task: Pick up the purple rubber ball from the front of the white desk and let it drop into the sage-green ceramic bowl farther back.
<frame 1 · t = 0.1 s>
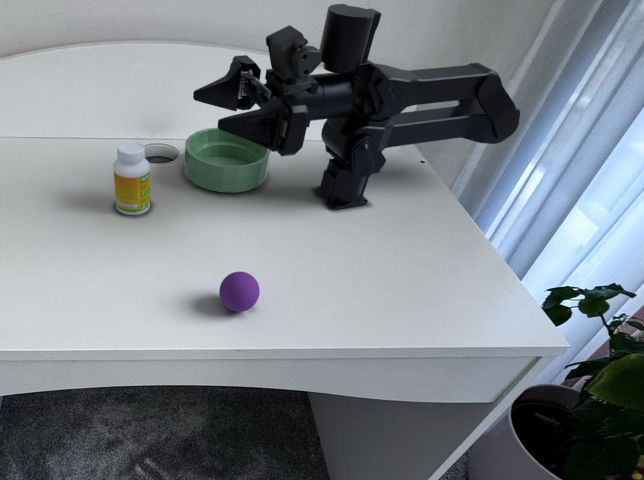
hand: (205, 109, 65), 17 cm above the table, tool horizontal, fingers open, 9 cm apart
bowl: (224, 174, 87), on the table
supplement bottle: (133, 207, 79), on the table
ball: (239, 291, 63), point 2 cm above the table
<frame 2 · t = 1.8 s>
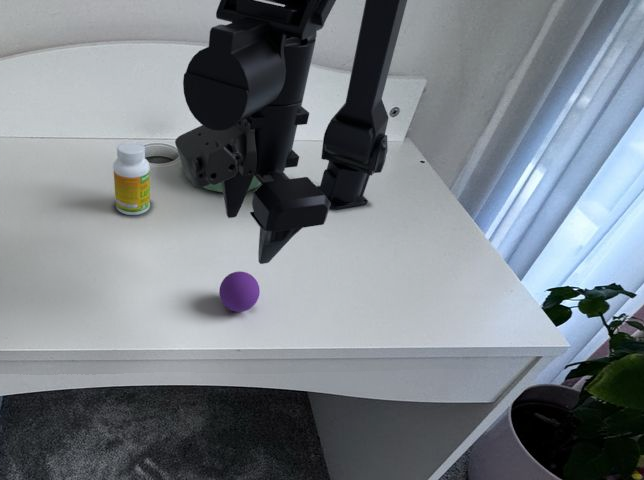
hand: (246, 238, 57), 10 cm above the table, tool pointing down, fingers open, 9 cm apart
nothing on the table moved.
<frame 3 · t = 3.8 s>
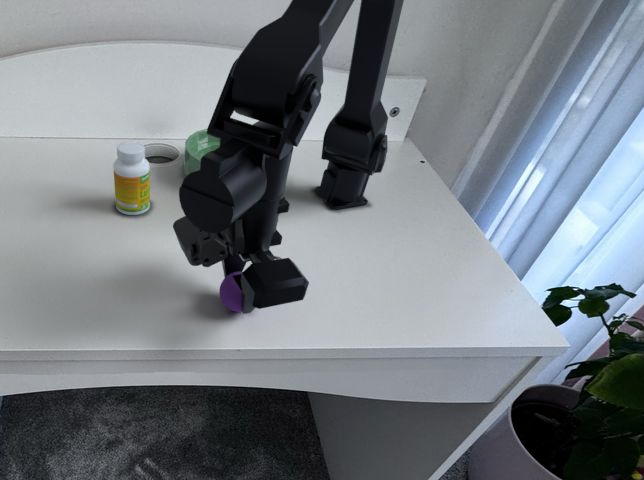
hand: (238, 299, 63), 1 cm above the table, tool pointing down, fingers closed on ball, 5 cm apart
ball: (239, 291, 63), point 2 cm above the table, touching gripper
everything else where it was.
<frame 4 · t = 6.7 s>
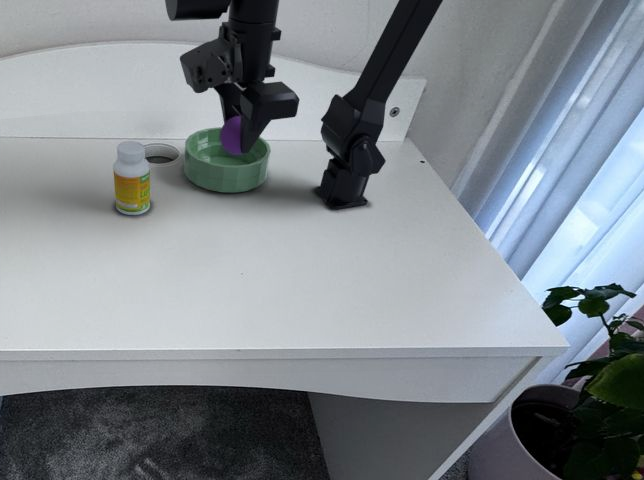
hand: (237, 144, 71), 11 cm above the table, tool pointing down, fingers closed on ball, 5 cm apart
ball: (237, 135, 70), point 12 cm above the table, touching gripper
everything else where it was.
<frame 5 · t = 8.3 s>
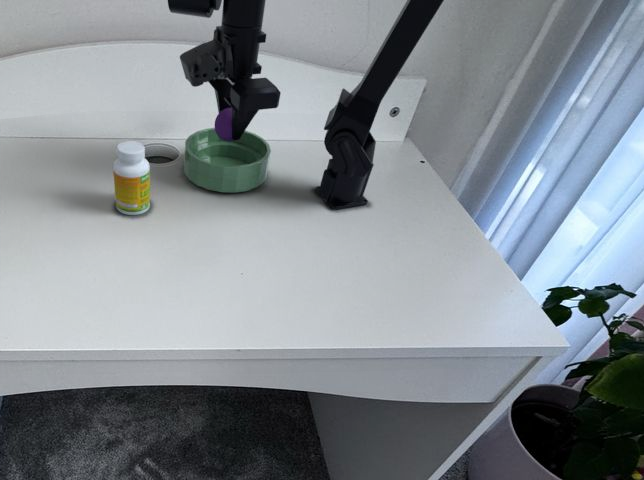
hand: (229, 132, 82), 7 cm above the table, tool pointing down, fingers closed on ball, 5 cm apart
ball: (230, 124, 81), point 9 cm above the table, touching gripper
everything else where it was.
when the fingers open (3 cm above the table, at t = 9.9 s): ball drops 2 cm, resting on bowl.
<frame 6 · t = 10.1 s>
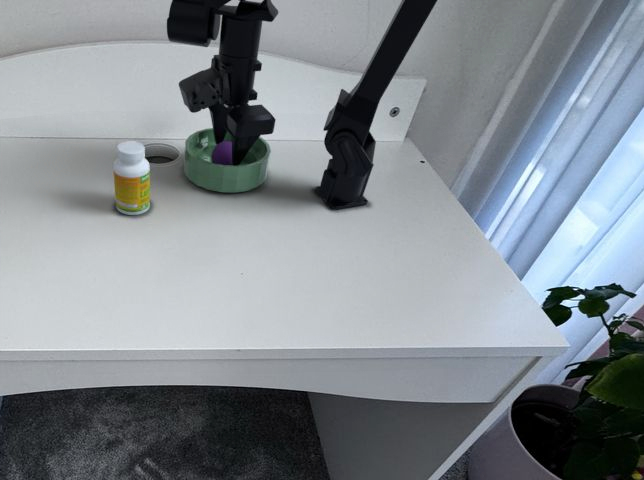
hand: (226, 154, 85), 4 cm above the table, tool pointing down, fingers open, 7 cm apart
ball: (226, 157, 85), point 3 cm above the table, touching bowl
everything else where it was.
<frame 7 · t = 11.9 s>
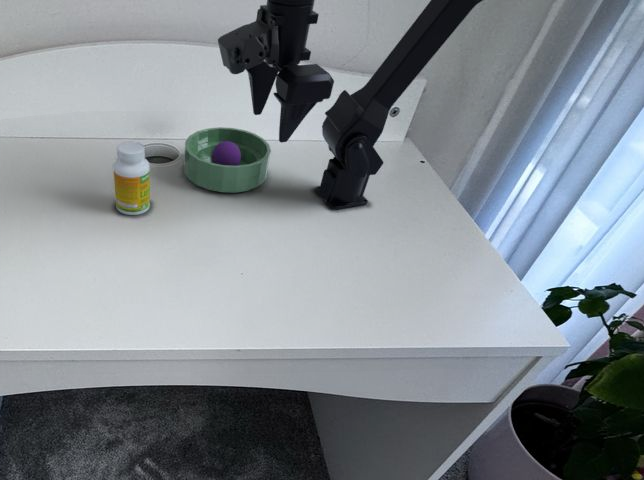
hand: (269, 127, 73), 12 cm above the table, tool pointing down, fingers open, 9 cm apart
nothing on the table moved.
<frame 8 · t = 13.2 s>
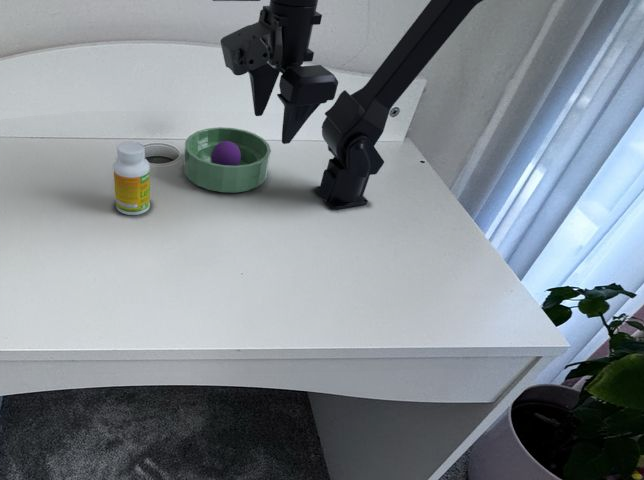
hand: (271, 128, 72), 12 cm above the table, tool pointing down, fingers open, 9 cm apart
nothing on the table moved.
at the end: ball inside the target area in the bowl (0.1 cm from its centre), point 3.1 cm above the bowl's base; the gripper is holding nothing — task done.
